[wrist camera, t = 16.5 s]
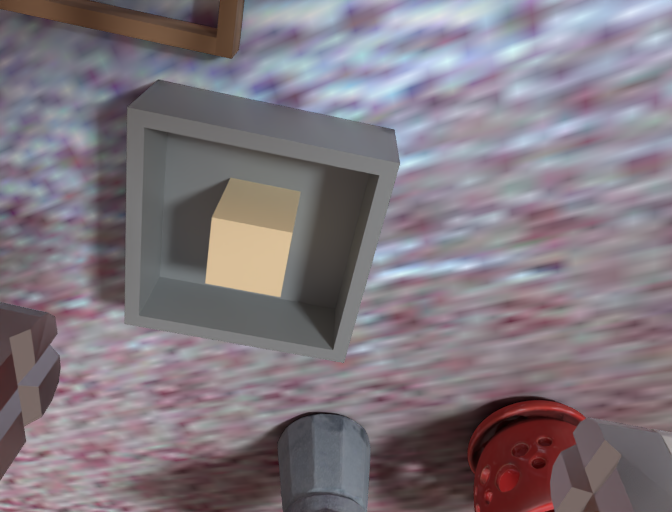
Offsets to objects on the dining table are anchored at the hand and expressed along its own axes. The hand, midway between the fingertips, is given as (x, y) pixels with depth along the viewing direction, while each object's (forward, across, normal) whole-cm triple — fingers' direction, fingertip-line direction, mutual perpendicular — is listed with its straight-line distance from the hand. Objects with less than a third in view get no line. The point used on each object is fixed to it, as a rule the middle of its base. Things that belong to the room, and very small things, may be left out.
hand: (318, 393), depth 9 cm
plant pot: (+32, -23, +33) cm, 51 cm away
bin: (+31, +5, +15) cm, 34 cm away
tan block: (+30, +5, +14) cm, 33 cm away
